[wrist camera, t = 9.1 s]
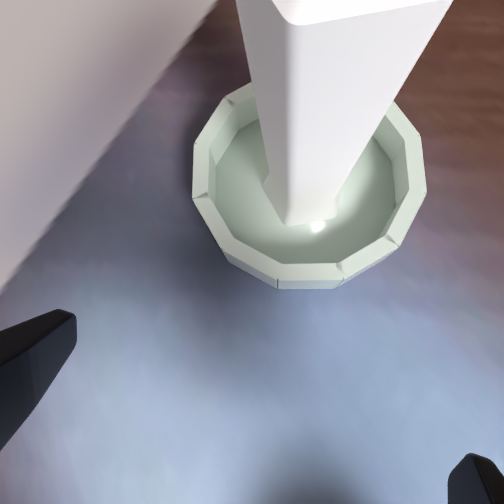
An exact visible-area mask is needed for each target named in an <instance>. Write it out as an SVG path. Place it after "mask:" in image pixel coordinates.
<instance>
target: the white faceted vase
mask: <svg viewBox="0 0 504 504" xmlns="http://www.w3.org/2000/svg"><path fill="white" fill-rule="evenodd" d="M452 1H453V0H236V5H237V10H238V15H239V20H240V25H241V30H242V35H243V40H244V45H245V50H246V55H247V60H248V65H249V70H250V75H251V80H252V85H253V91H254V96H255V101H256V106H257V111H258V116H259V121H260V126H261V131H262V136H263V141H264V146H265V151H266V156H267V161H268V166H269V171H270V172H269V174H268V175H267V177H266V179H265V180H264V182H263V185H262V187H263V189H264V191H265V193H266V195H267V196H268V198H269V200H270V202H271V203H272V205H273V207H274V209H275V211H276V212H277V214H278V216H279V218H280V219H281V221H282V223H283V224H284V225H285V226H295V225H301V224H306V223H312V222H318V221H323V220H329V219H333V218H335V217H336V216H337V212H338V202H339V193H340V189H341V187H342V185H343V184H344V182H345V180H346V179H347V177H348V175H349V174H350V172H351V170H352V169H353V167H354V165H355V164H356V162H357V160H358V159H359V157H360V155H361V154H362V152H363V150H364V148H365V147H366V145H367V143H368V142H369V140H370V138H371V137H372V135H373V133H374V132H375V130H376V128H377V127H378V125H379V123H380V122H381V120H382V118H383V117H384V115H385V113H386V112H387V110H388V108H389V107H390V105H391V103H392V102H393V100H394V98H395V97H396V95H397V93H398V92H399V90H400V88H401V87H402V85H403V83H404V82H405V80H406V78H407V77H408V75H409V73H410V72H411V70H412V68H413V67H414V65H415V63H416V62H417V60H418V58H419V57H420V55H421V53H422V52H423V50H424V48H425V47H426V45H427V43H428V41H429V40H430V38H431V36H432V35H433V33H434V31H435V30H436V28H437V26H438V25H439V23H440V21H441V20H442V18H443V16H444V15H445V13H446V11H447V10H448V8H449V6H450V5H451V3H452Z"/></svg>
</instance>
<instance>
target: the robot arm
mask: <svg viewBox="0 0 504 504" xmlns="http://www.w3.org/2000/svg"><path fill="white" fill-rule="evenodd" d="M76 342H77V322H76V316H75V315H74V314H73V313H70V312H67V311H64V310H61V309H56V310H53V311H50V312H48V313H45V314H43V315H40V316H38V317H35V318H33V319H30V320H27V321H25V322H22V323H20V324H17V325H15V326H12V327H10V328H7V329H4V330H2V331H0V451H1V450H2V448H3V447H4V446H5V445H6V444H7V442H8V441H9V440H10V439H11V437H12V436H13V435H14V434H15V432H16V431H17V430H18V429H19V427H20V426H21V425H22V424H23V422H24V421H25V420H26V419H27V417H28V416H29V415H30V414H31V412H32V411H33V410H34V408H35V407H36V406H37V404H38V403H39V401H40V400H41V398H42V397H43V395H44V394H45V392H46V391H47V389H48V388H49V386H50V385H51V383H52V382H53V380H54V379H55V377H56V376H57V374H58V372H59V371H60V369H61V368H62V366H63V365H64V363H65V362H66V360H67V359H68V357H69V356H70V354H71V353H72V351H73V349H74V347H75V345H76ZM448 504H504V476H503V475H502V473H501V472H500V471H499V469H498V468H497V467H496V465H495V464H494V463H493V462H492V461H491V460H490V459H488V458H485V457H482V456H480V455H477V454H474V453H469V454H467V455H466V456H465V457H464V458H463V459H462V460H461V461H460V462H459V464H458V465H457V466H456V467H455V468H454V469H453V470H452V472H451V473H450V475H449V478H448Z"/></svg>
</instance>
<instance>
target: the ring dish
mask: <svg viewBox="0 0 504 504" xmlns="http://www.w3.org/2000/svg"><path fill="white" fill-rule="evenodd" d="M419 135H420V134H419V133H418V132H417V130H416V129H415V128H414V127H413V125H412V124H411V123H410V122H409V120H408V119H407V118H406V116H405V115H404V114H403V113H402V111H401V110H400V109H399V107H398V106H397V105H396V104H395V102H394V101H393V102H392V103H391V105H390V107H389V108H388V110H387V112H386V113H385V115H384V117H383V118H382V120H381V122H380V123H379V125H378V127H377V128H376V130H375V132H374V133H373V135H372V137H371V138H370V140H369V142H368V143H367V145H366V147H365V148H364V150H363V152H362V154H361V155H360V157H359V159H358V160H357V162H356V164H355V165H354V167H353V169H352V170H351V172H350V174H349V175H348V177H347V179H346V180H345V182H344V184H343V185H342V187H341V189H340V193H339V202H338V212H337V216H336V217H335V218H333V219H329V220H323V221H318V222H312V223H306V224H301V225H295V226H285V225H284V224H283V223H282V221H281V219H280V218H279V216H278V214H277V212H276V211H275V209H274V207H273V205H272V203H271V202H270V200H269V198H268V196H267V195H266V193H265V191H264V189H263V187H262V185H263V182H264V180H265V179H266V177H267V175H268V174H269V172H270V171H269V166H268V161H267V156H266V151H265V146H264V141H263V136H262V131H261V126H260V121H259V116H258V111H257V106H256V101H255V96H254V91H253V85H252V82H250V83H248V84H246V85H245V86H243V87H241V88H239V89H237V90H236V91H234V92H232V93H230V94H228V95H226V96H225V98H223V99H222V101H221V102H220V104H219V105H218V107H217V109H216V110H215V112H214V113H213V115H212V116H211V118H210V119H209V121H208V122H207V124H206V125H205V127H204V128H203V130H202V132H201V133H200V135H199V136H198V138H197V139H196V141H195V144H194V157H193V185H192V200H193V201H194V203H195V205H196V207H197V208H198V210H199V212H200V213H201V215H202V217H203V219H204V220H205V222H206V224H207V226H208V227H209V229H210V231H211V232H212V234H213V236H214V238H215V239H216V241H217V243H218V245H219V246H220V248H221V250H222V251H223V253H224V255H225V257H226V258H227V260H228V261H229V263H231V264H233V265H235V266H236V267H238V268H240V269H242V270H244V271H245V272H247V273H249V274H251V275H253V276H254V277H256V278H258V279H260V280H262V281H263V282H265V283H267V284H269V285H271V286H272V287H274V288H276V289H277V288H278V289H334V288H337V287H339V286H340V285H342V284H344V283H346V282H347V281H349V280H351V279H352V278H354V277H356V276H357V275H359V274H361V273H362V272H364V271H366V270H367V269H369V268H371V267H372V266H374V265H376V264H377V263H379V262H381V261H382V260H384V259H385V258H386V257H387V256H389V255H390V254H391V253H392V252H394V251H395V250H396V249H397V248H398V247H399V246H400V245H401V243H402V241H403V239H404V237H405V235H406V233H407V231H408V229H409V227H410V225H411V223H412V221H413V219H414V217H415V215H416V213H417V211H418V209H419V207H420V205H421V204H422V202H423V200H424V198H425V196H426V192H427V190H426V181H425V172H424V163H423V154H422V145H421V136H419Z"/></svg>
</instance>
